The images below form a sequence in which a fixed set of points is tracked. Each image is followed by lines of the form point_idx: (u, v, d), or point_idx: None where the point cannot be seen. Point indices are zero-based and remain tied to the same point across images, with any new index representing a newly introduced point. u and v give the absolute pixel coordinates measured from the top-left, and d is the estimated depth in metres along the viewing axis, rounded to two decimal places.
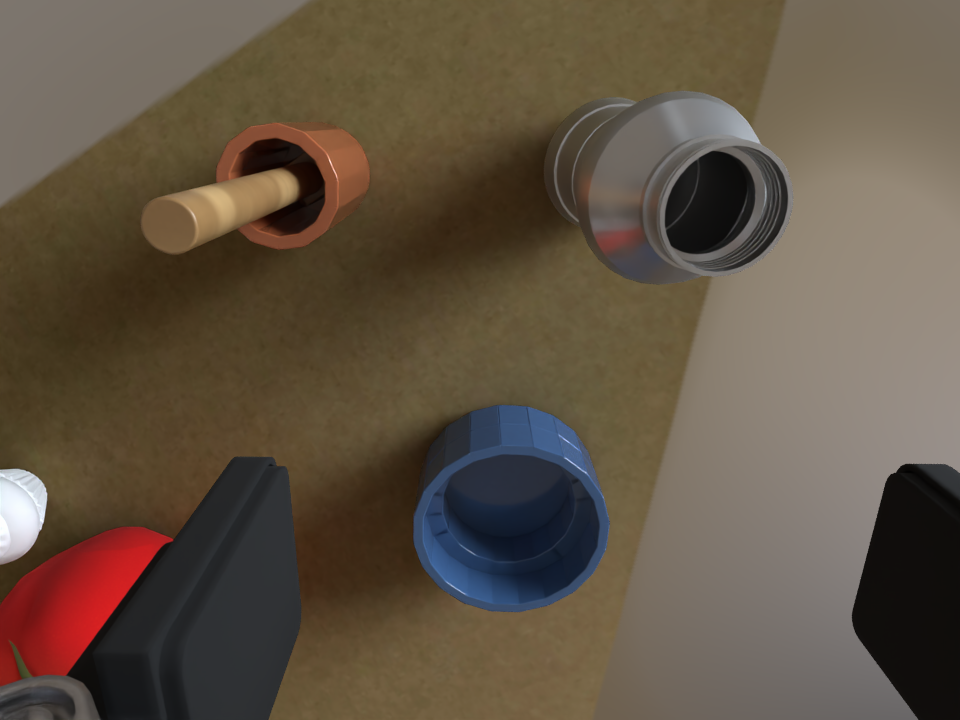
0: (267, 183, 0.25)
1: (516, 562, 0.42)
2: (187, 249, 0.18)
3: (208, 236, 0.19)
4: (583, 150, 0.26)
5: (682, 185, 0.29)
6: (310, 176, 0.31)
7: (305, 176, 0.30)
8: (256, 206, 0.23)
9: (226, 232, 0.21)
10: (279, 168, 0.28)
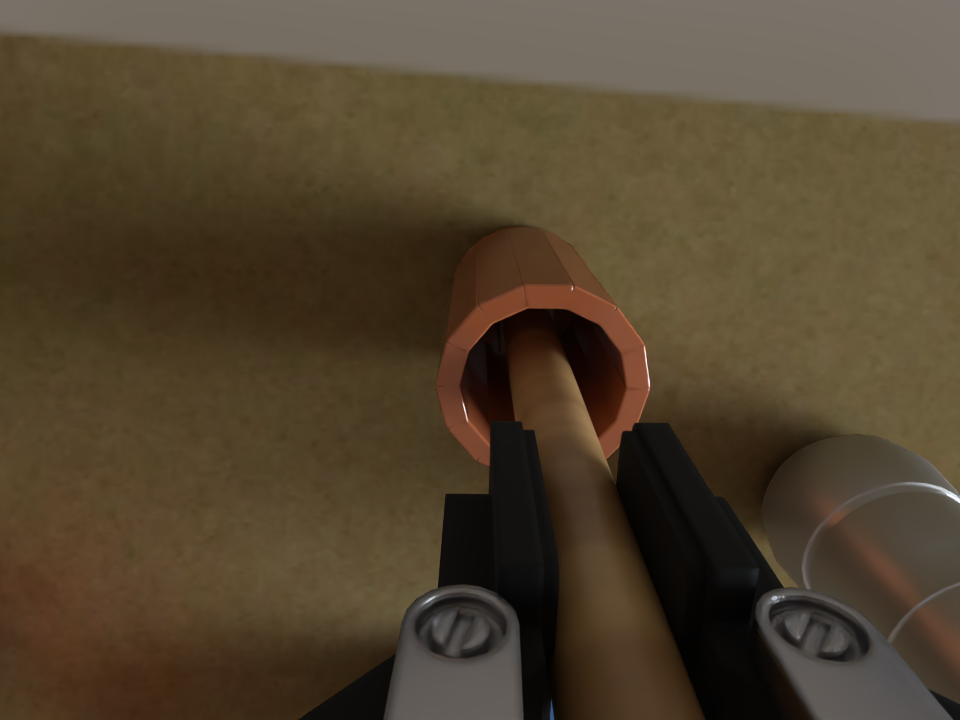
0: None
1: None
2: None
3: None
4: None
5: None
6: None
7: None
8: None
9: None
10: (561, 356, 0.16)
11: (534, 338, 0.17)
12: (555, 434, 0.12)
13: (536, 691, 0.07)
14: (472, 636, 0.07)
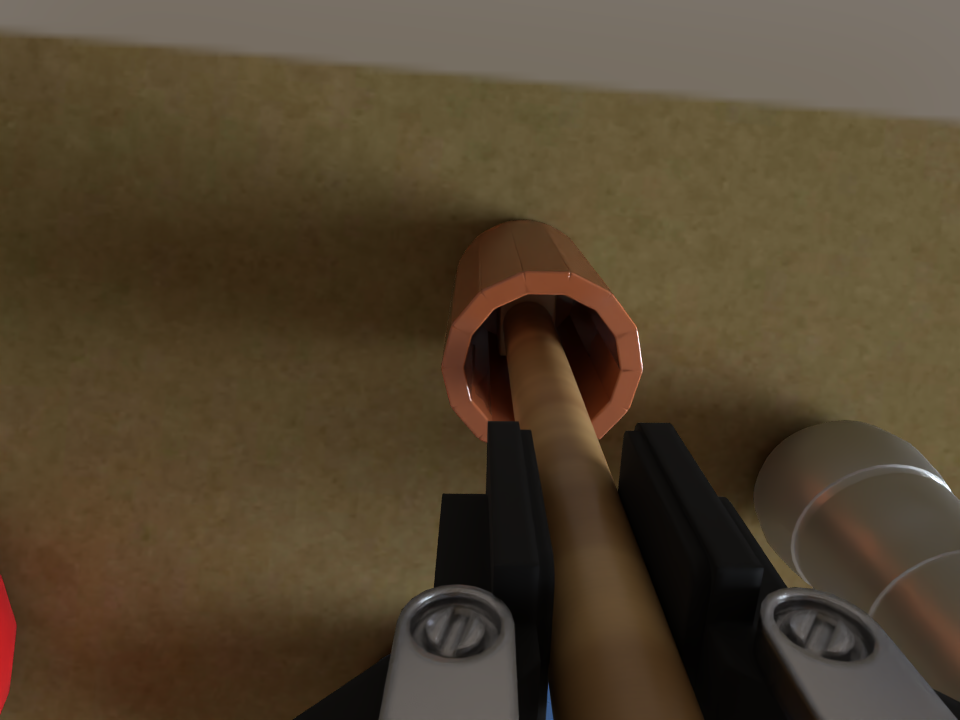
0: None
1: None
2: None
3: None
4: (957, 586, 0.18)
5: None
6: None
7: None
8: None
9: None
10: (561, 357, 0.16)
11: (535, 339, 0.17)
12: (556, 437, 0.12)
13: (532, 691, 0.07)
14: (467, 636, 0.07)
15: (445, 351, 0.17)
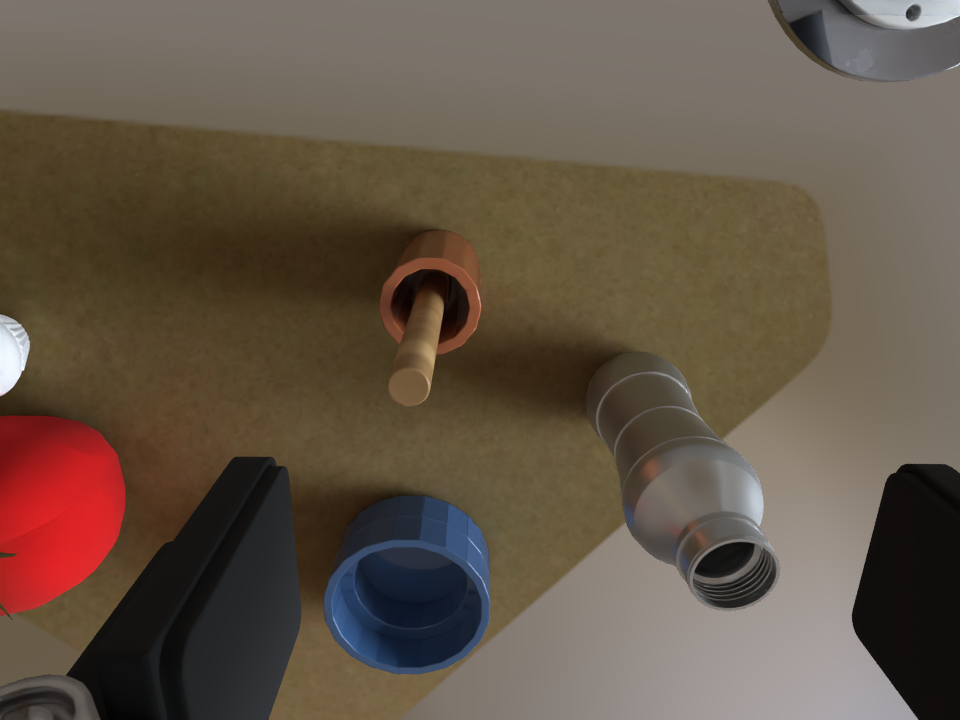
0: (440, 326, 0.31)
1: (387, 624, 0.48)
2: None
3: None
4: (647, 421, 0.35)
5: None
6: None
7: None
8: None
9: None
10: (437, 295, 0.34)
11: (427, 287, 0.35)
12: (416, 317, 0.30)
13: None
14: None
15: (380, 298, 0.34)
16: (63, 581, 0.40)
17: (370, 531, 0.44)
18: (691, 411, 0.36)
